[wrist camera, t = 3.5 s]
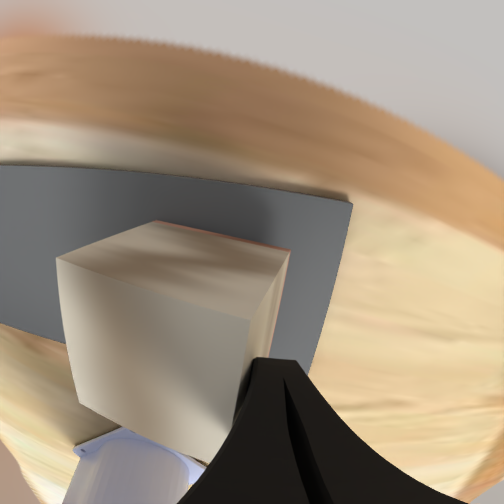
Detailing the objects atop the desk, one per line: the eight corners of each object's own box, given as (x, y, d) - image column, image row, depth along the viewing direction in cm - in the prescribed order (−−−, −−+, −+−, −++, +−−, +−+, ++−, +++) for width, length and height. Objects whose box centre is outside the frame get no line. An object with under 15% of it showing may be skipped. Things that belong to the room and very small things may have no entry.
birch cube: (291, 249, 12) (251, 320, 7) (265, 370, 14) (224, 468, 9) (156, 220, 14) (55, 257, 8) (152, 334, 15) (79, 402, 10)
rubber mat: (349, 202, 14) (353, 203, 14) (304, 376, 17) (305, 381, 17) (-33, 164, 13) (-38, 166, 12) (-18, 311, 16) (-22, 314, 15)
